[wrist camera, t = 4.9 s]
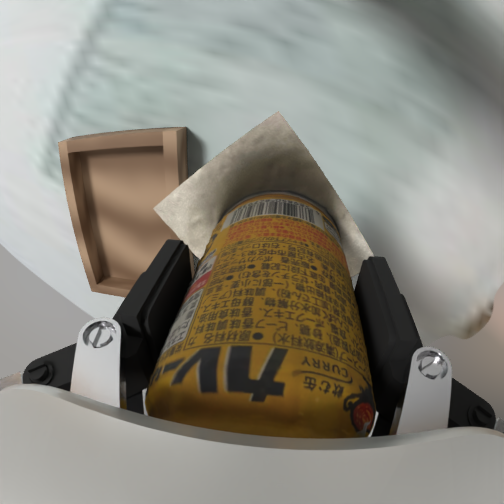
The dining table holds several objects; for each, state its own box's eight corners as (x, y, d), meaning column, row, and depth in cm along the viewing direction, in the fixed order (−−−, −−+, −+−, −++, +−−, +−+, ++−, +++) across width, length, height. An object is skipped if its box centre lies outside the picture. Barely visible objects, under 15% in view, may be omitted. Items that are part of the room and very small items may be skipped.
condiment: (260, 318, 17) (227, 536, 7) (154, 206, 14) (-9, 434, 3) (377, 260, 14) (441, 516, 4) (278, 110, 11) (159, 522, 1)
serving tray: (73, 137, 25) (58, 142, 22) (186, 126, 23) (176, 130, 21) (101, 279, 34) (91, 291, 32) (196, 292, 33) (190, 307, 31)
